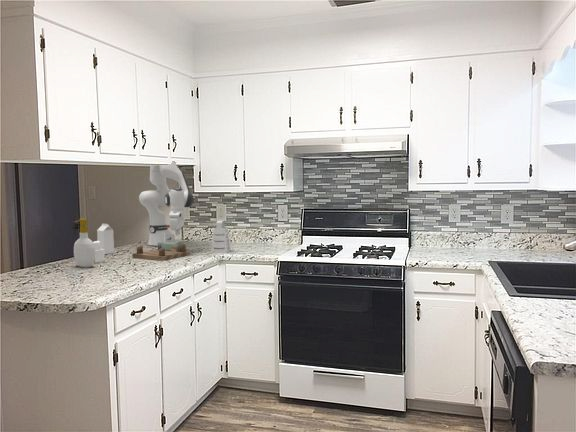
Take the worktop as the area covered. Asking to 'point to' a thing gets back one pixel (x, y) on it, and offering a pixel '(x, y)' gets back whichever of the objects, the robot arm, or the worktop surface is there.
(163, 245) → the hinged leg
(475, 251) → the worktop surface
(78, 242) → the soap bottle
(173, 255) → the stool seat
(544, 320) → the worktop surface
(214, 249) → the grey tiered tower
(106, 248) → the milk carton
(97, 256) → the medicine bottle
